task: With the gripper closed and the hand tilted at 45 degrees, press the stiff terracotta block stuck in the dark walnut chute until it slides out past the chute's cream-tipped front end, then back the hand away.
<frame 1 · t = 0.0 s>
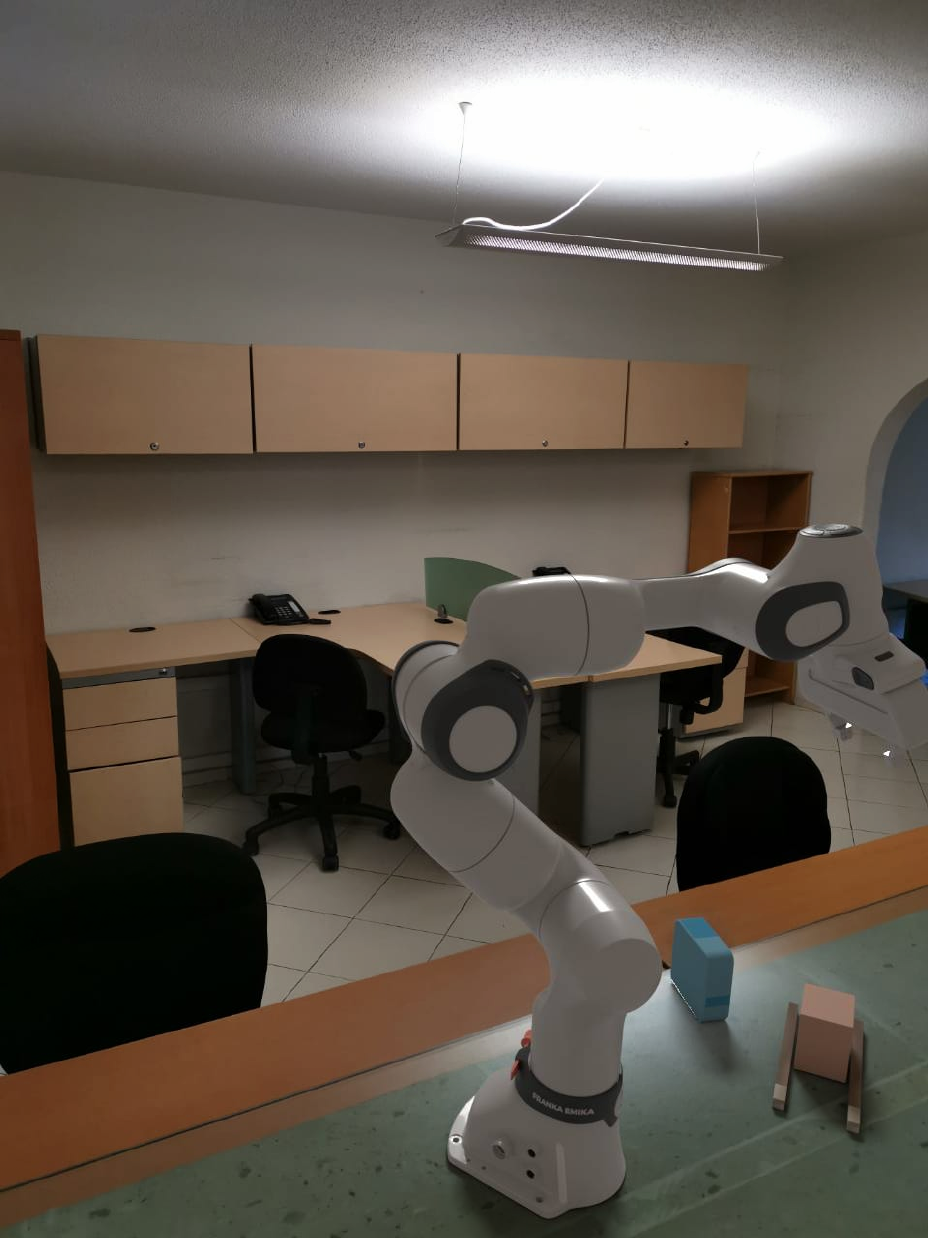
hand: (868, 751, 116), 52 cm above the table, tool tilted 20°, fingers open, 8 cm apart
data package: (697, 1002, 150), on the table
jammed block: (824, 1031, 136), point 5 cm above the table, slide at 0.0 cm
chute: (820, 1060, 137), on the table
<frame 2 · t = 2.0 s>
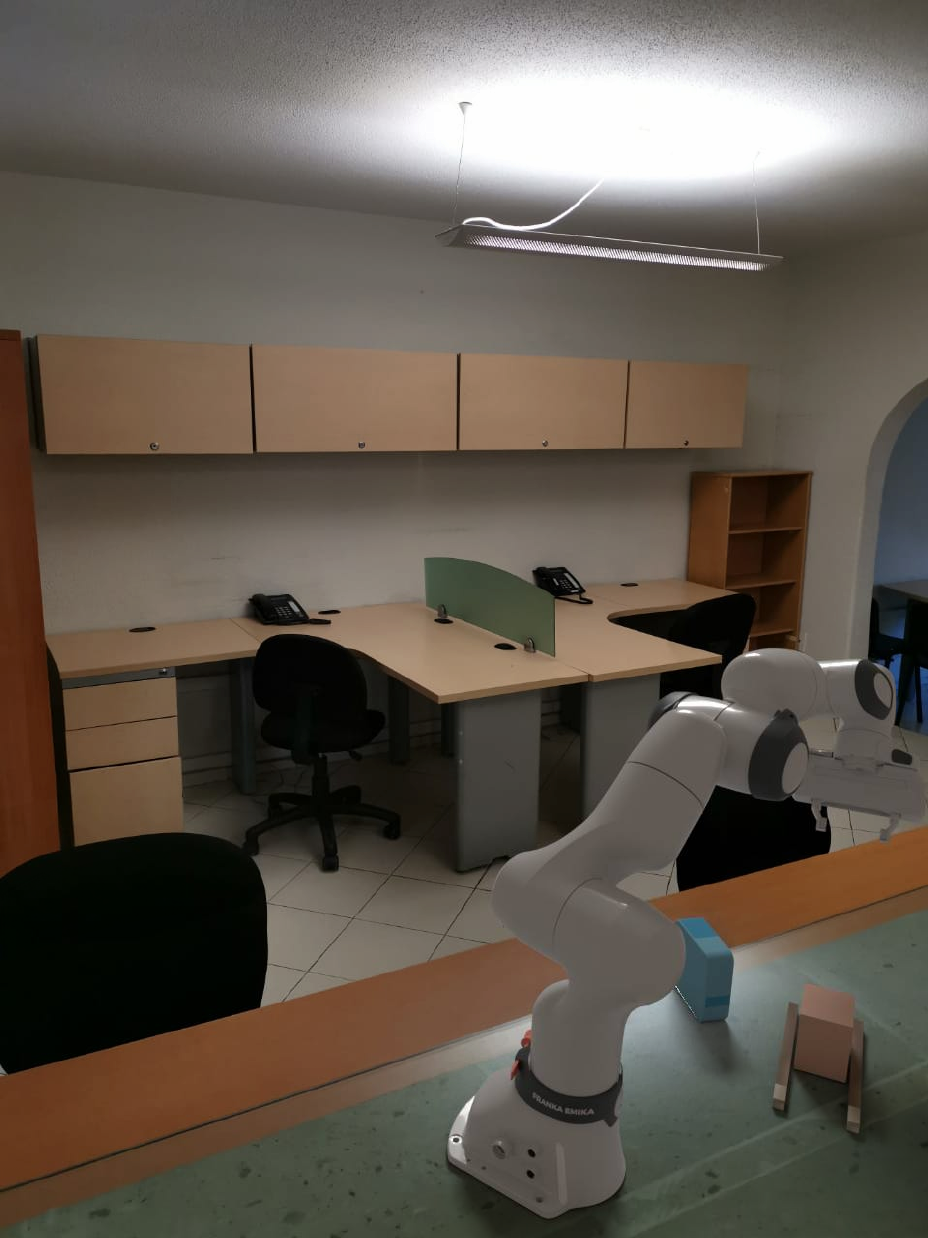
hand: (851, 835, 149), 27 cm above the table, tool tilted 45°, fingers open, 8 cm apart
nothing on the table moved.
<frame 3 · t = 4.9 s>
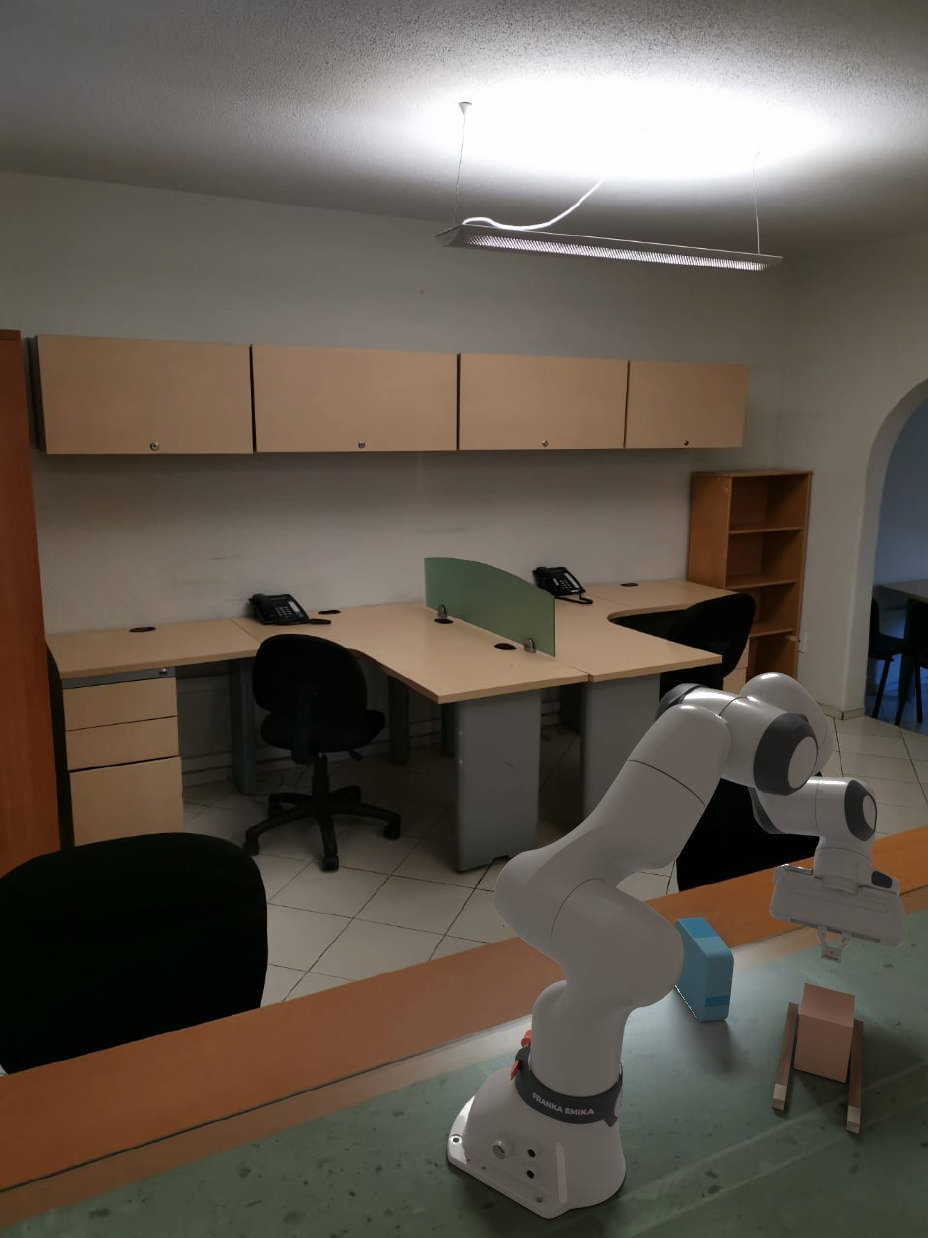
hand: (830, 960, 147), 9 cm above the table, tool tilted 45°, fingers closed
nothing on the table moved.
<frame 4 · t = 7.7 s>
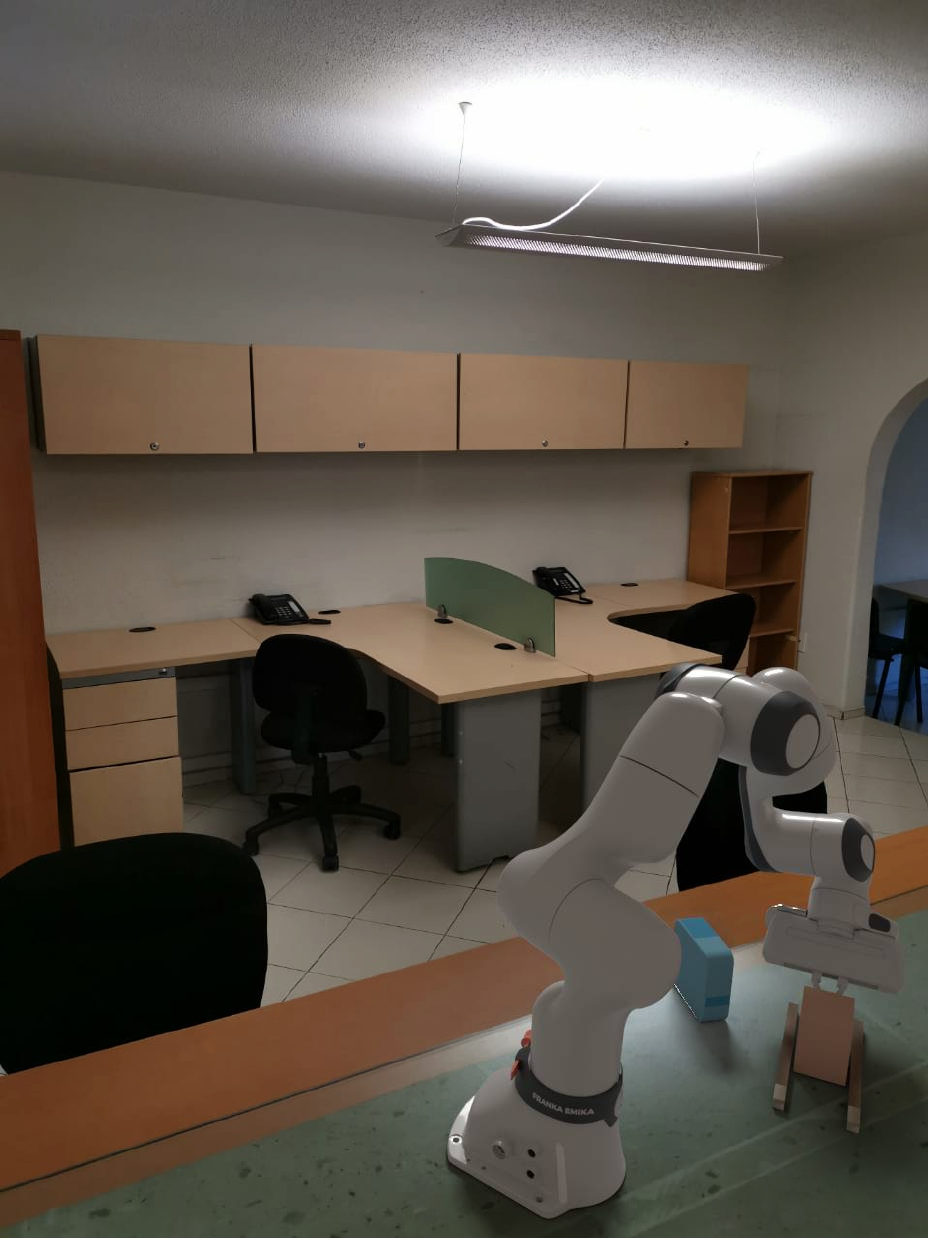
hand: (826, 1007, 139), 6 cm above the table, tool tilted 45°, fingers closed, pressing on jammed block
jammed block: (824, 1034, 136), point 5 cm above the table, slide at 0.7 cm, touching gripper
everything else where it was.
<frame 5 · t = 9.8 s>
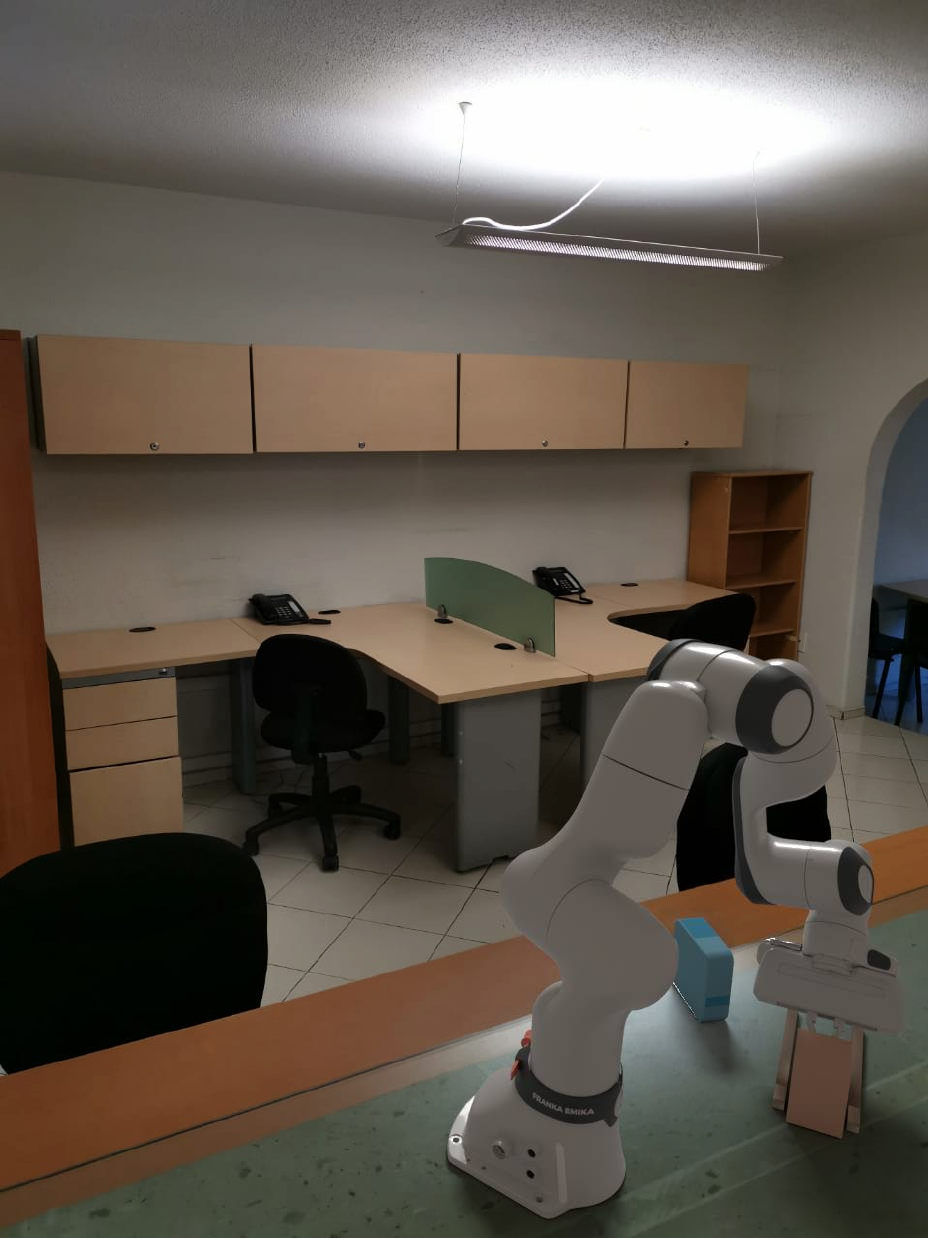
hand: (821, 1051, 130), 6 cm above the table, tool tilted 45°, fingers closed, pressing on jammed block
jammed block: (819, 1081, 126), point 5 cm above the table, slide at 11.3 cm, touching gripper
everything else where it was.
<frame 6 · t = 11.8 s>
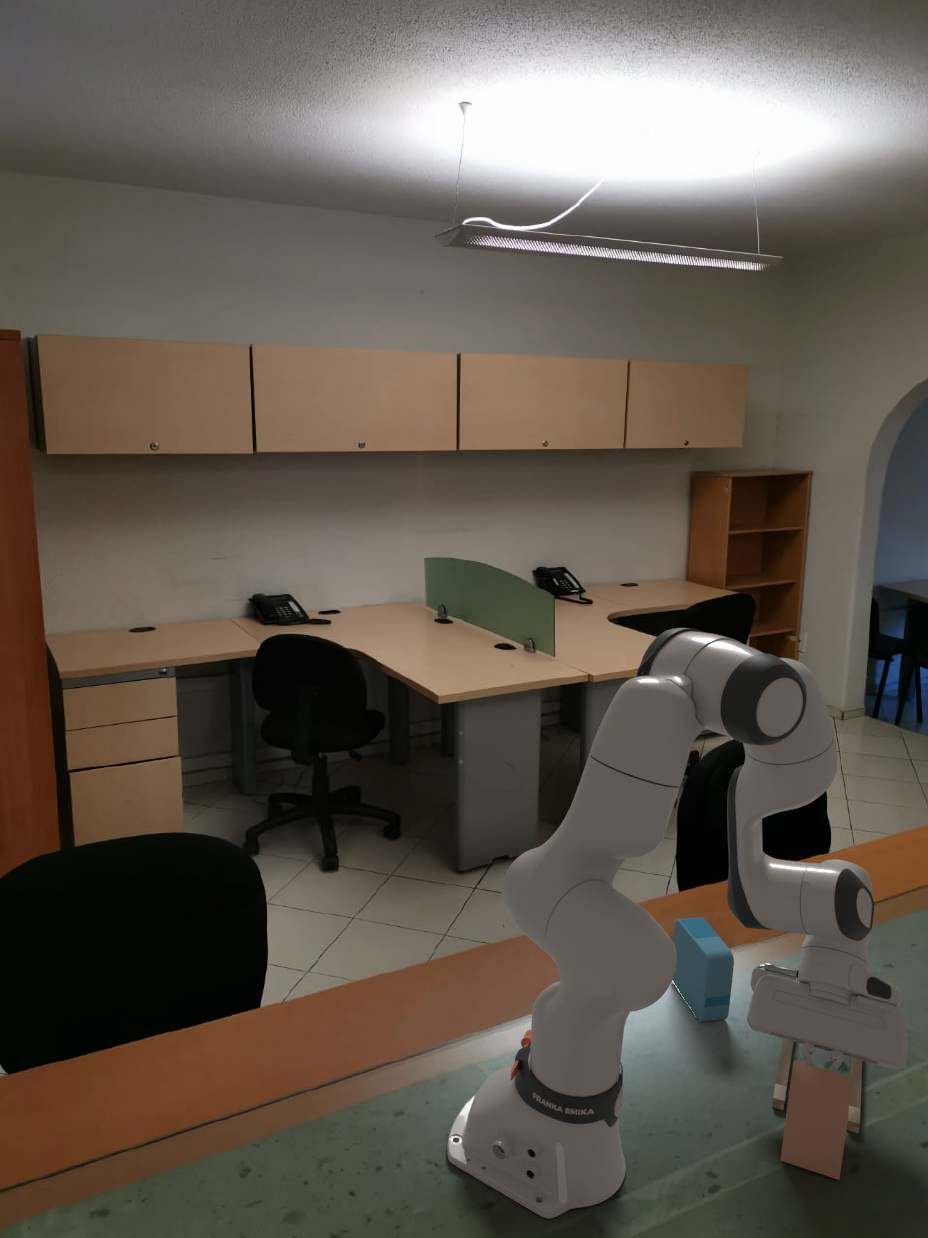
hand: (818, 1084, 123), 6 cm above the table, tool tilted 45°, fingers closed, pressing on jammed block
jammed block: (815, 1118, 120), point 5 cm above the table, slide at 18.6 cm, touching gripper
everything else where it was.
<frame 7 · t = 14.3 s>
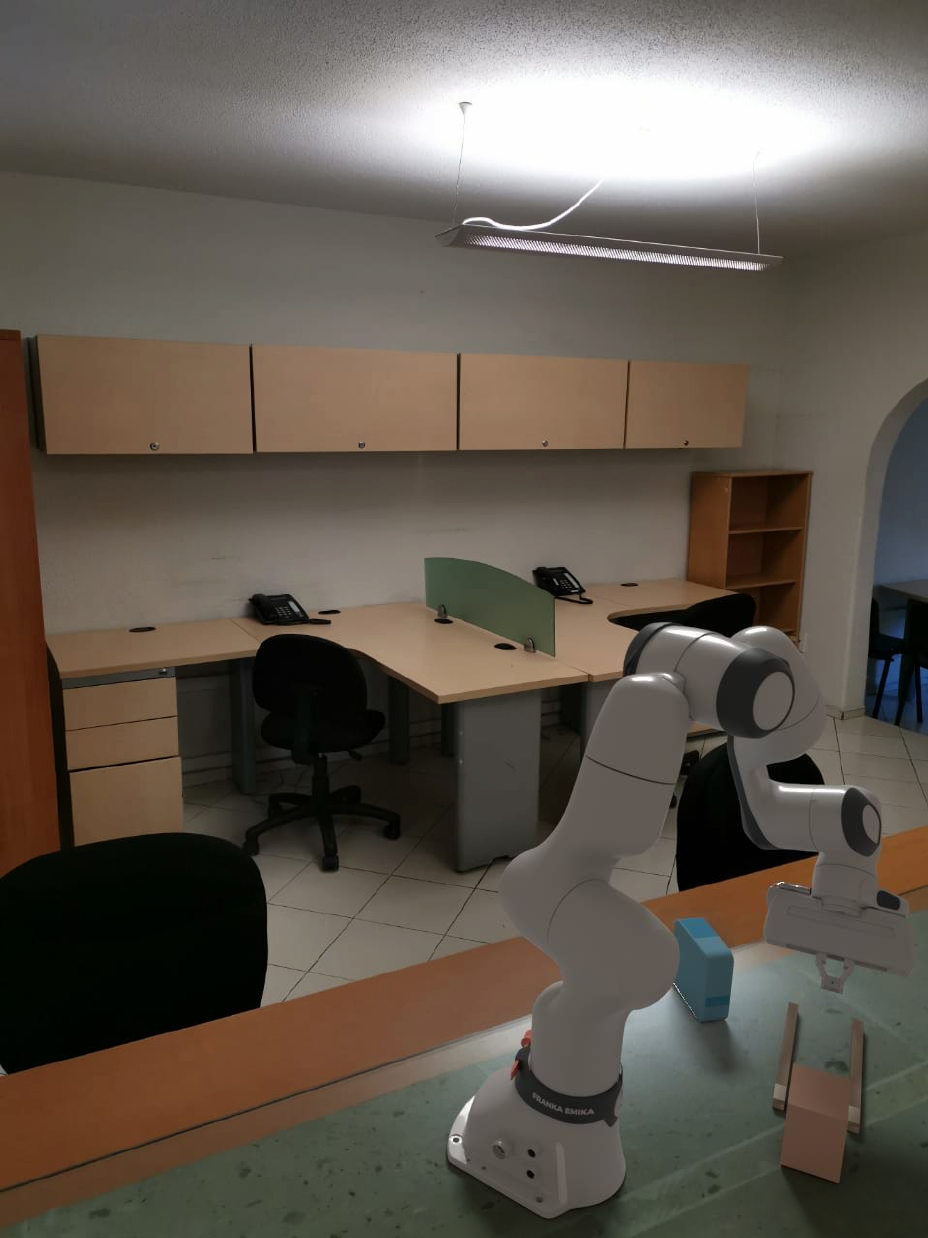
hand: (831, 991, 130), 14 cm above the table, tool tilted 45°, fingers closed
jammed block: (815, 1121, 119), point 5 cm above the table, slide at 19.2 cm
everything else where it was.
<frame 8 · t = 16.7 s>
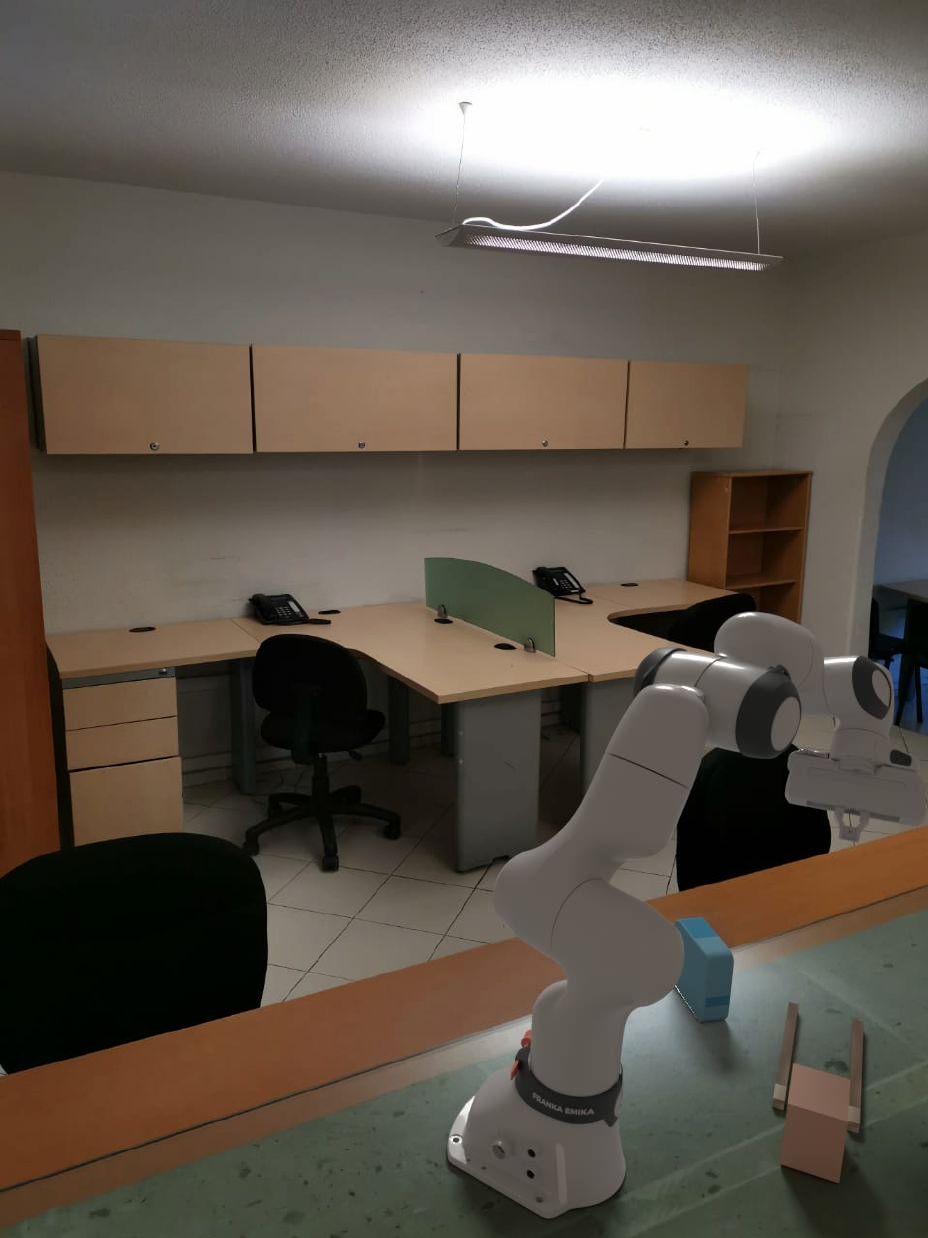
hand: (848, 839, 142), 29 cm above the table, tool tilted 45°, fingers closed
nothing on the table moved.
at the end: jammed block slide at 19.2 cm; the gripper is holding nothing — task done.
